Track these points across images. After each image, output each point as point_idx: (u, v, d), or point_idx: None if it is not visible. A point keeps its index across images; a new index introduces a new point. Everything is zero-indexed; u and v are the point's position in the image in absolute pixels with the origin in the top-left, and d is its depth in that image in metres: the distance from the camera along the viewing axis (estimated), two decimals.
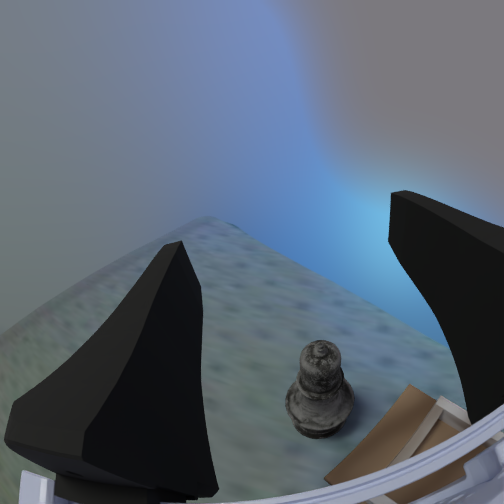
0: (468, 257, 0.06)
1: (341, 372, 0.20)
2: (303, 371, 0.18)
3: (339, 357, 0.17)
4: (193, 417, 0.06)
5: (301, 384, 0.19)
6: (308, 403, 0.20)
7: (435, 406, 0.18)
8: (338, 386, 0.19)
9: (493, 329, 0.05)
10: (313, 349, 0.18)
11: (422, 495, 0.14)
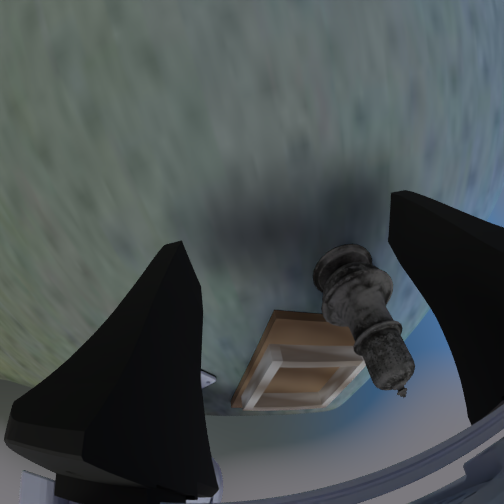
0: (468, 257, 0.06)
1: None
2: (378, 370, 0.15)
3: None
4: (193, 417, 0.06)
5: (368, 336, 0.17)
6: (350, 318, 0.19)
7: (360, 361, 0.27)
8: None
9: (493, 329, 0.05)
10: (401, 381, 0.14)
11: (283, 370, 0.30)
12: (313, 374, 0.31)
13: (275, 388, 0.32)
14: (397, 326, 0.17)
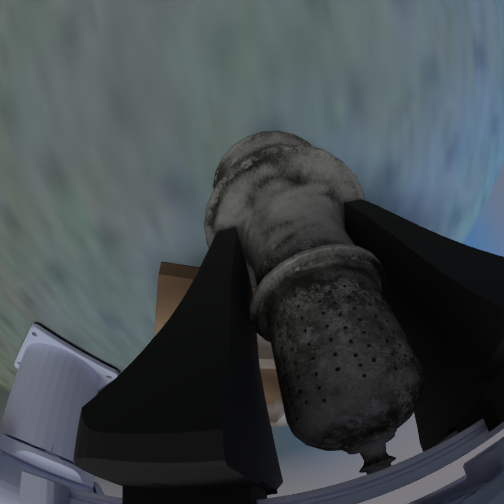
0: (413, 276, 0.06)
1: None
2: (296, 394, 0.05)
3: None
4: (263, 407, 0.06)
5: (280, 287, 0.06)
6: (253, 254, 0.08)
7: None
8: None
9: (439, 357, 0.05)
10: (375, 437, 0.04)
11: None
12: None
13: None
14: (369, 263, 0.06)
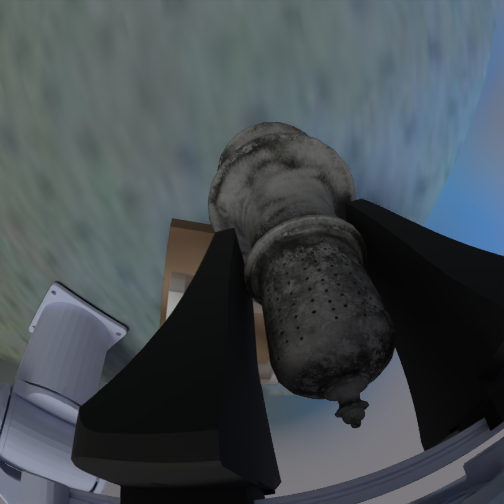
0: (414, 276, 0.06)
1: None
2: (278, 335, 0.06)
3: None
4: (261, 407, 0.06)
5: (270, 249, 0.07)
6: (249, 227, 0.10)
7: None
8: None
9: (440, 357, 0.05)
10: (348, 379, 0.05)
11: None
12: None
13: None
14: (350, 234, 0.07)
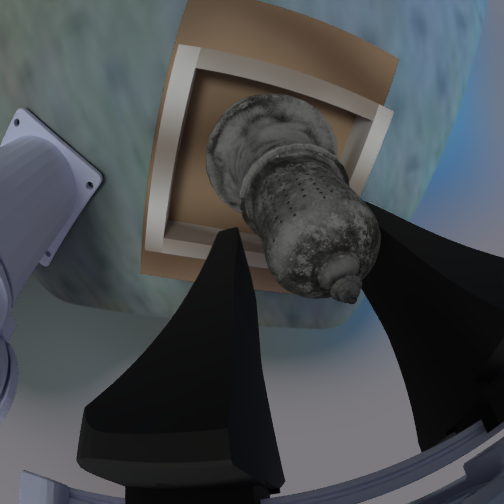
0: (411, 277, 0.06)
1: None
2: (273, 221, 0.06)
3: None
4: (266, 406, 0.06)
5: (263, 170, 0.08)
6: (243, 167, 0.10)
7: (375, 104, 0.12)
8: None
9: (437, 358, 0.05)
10: (339, 255, 0.06)
11: None
12: None
13: (214, 209, 0.17)
14: (333, 161, 0.08)
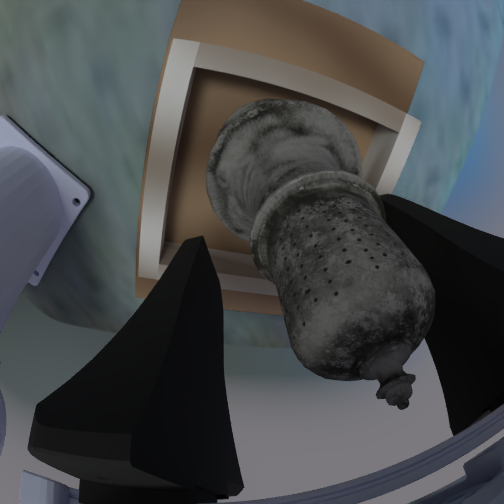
0: (448, 264, 0.06)
1: None
2: (303, 295, 0.05)
3: None
4: (220, 414, 0.06)
5: (283, 206, 0.06)
6: (254, 193, 0.08)
7: (401, 113, 0.10)
8: None
9: (474, 340, 0.05)
10: (391, 347, 0.04)
11: None
12: None
13: (216, 229, 0.15)
14: (370, 194, 0.06)
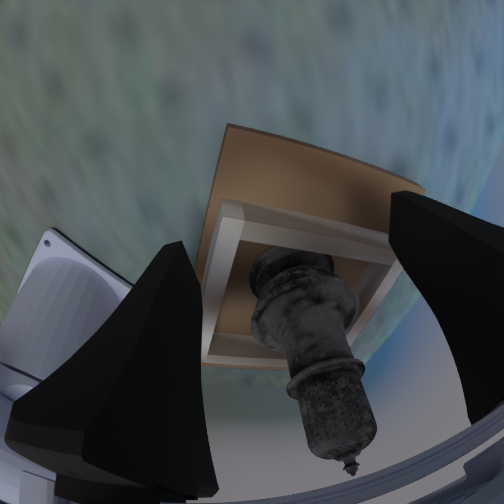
0: (468, 257, 0.06)
1: None
2: (315, 434, 0.09)
3: None
4: (193, 417, 0.06)
5: (307, 378, 0.11)
6: (286, 347, 0.13)
7: None
8: None
9: (493, 329, 0.05)
10: (350, 454, 0.08)
11: None
12: None
13: (247, 323, 0.20)
14: (356, 366, 0.11)
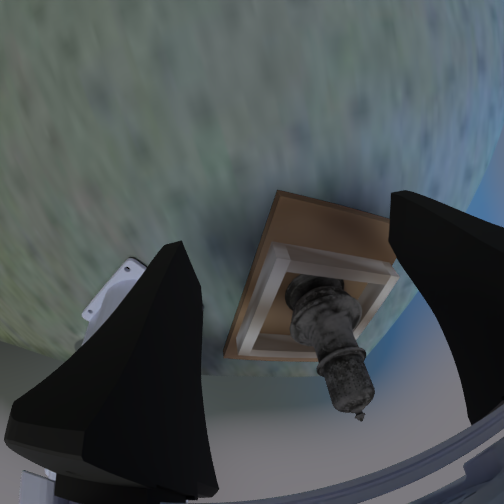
0: (468, 257, 0.06)
1: None
2: (337, 394, 0.16)
3: None
4: (193, 417, 0.06)
5: (331, 360, 0.18)
6: (315, 341, 0.20)
7: (388, 276, 0.22)
8: None
9: (493, 329, 0.05)
10: (359, 406, 0.15)
11: None
12: None
13: (279, 326, 0.26)
14: (360, 352, 0.18)
